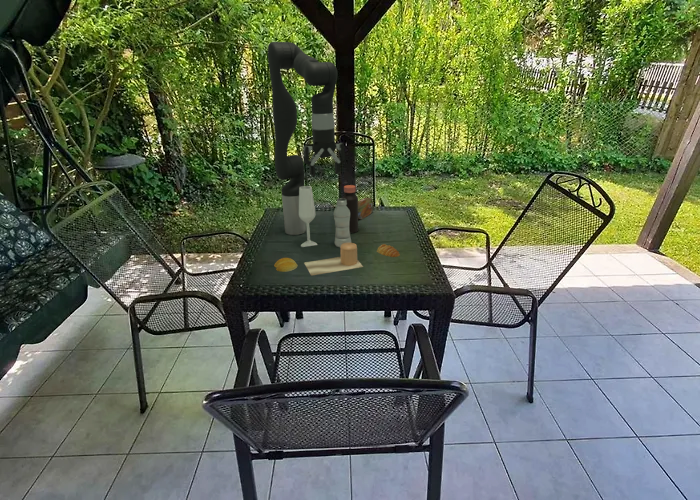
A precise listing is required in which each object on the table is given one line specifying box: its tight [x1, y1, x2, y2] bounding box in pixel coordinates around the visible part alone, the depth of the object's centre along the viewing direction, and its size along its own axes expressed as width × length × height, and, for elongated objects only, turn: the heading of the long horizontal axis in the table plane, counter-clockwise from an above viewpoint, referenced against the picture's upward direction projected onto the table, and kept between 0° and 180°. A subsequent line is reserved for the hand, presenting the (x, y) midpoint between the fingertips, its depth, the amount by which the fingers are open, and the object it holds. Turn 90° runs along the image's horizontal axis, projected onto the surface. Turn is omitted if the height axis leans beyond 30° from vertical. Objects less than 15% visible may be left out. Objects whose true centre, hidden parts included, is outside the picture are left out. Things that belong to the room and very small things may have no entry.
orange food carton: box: [358, 197, 374, 220], centre depth 204 cm, size 15×3×8 cm, turn 147°
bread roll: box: [273, 257, 298, 273], centre depth 153 cm, size 8×9×4 cm
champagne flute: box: [299, 185, 318, 248], centre depth 169 cm, size 7×7×24 cm
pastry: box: [376, 243, 401, 258], centre depth 162 cm, size 9×7×4 cm
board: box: [303, 256, 364, 276], centre depth 153 cm, size 11×19×2 cm, turn 109°
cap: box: [339, 242, 358, 266], centre depth 153 cm, size 6×6×6 cm
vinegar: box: [341, 184, 359, 234], centre depth 184 cm, size 7×7×20 cm
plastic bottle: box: [332, 198, 352, 248], centre depth 167 cm, size 6×7×20 cm
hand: (325, 174), depth 149 cm, fingers open, 8 cm apart
